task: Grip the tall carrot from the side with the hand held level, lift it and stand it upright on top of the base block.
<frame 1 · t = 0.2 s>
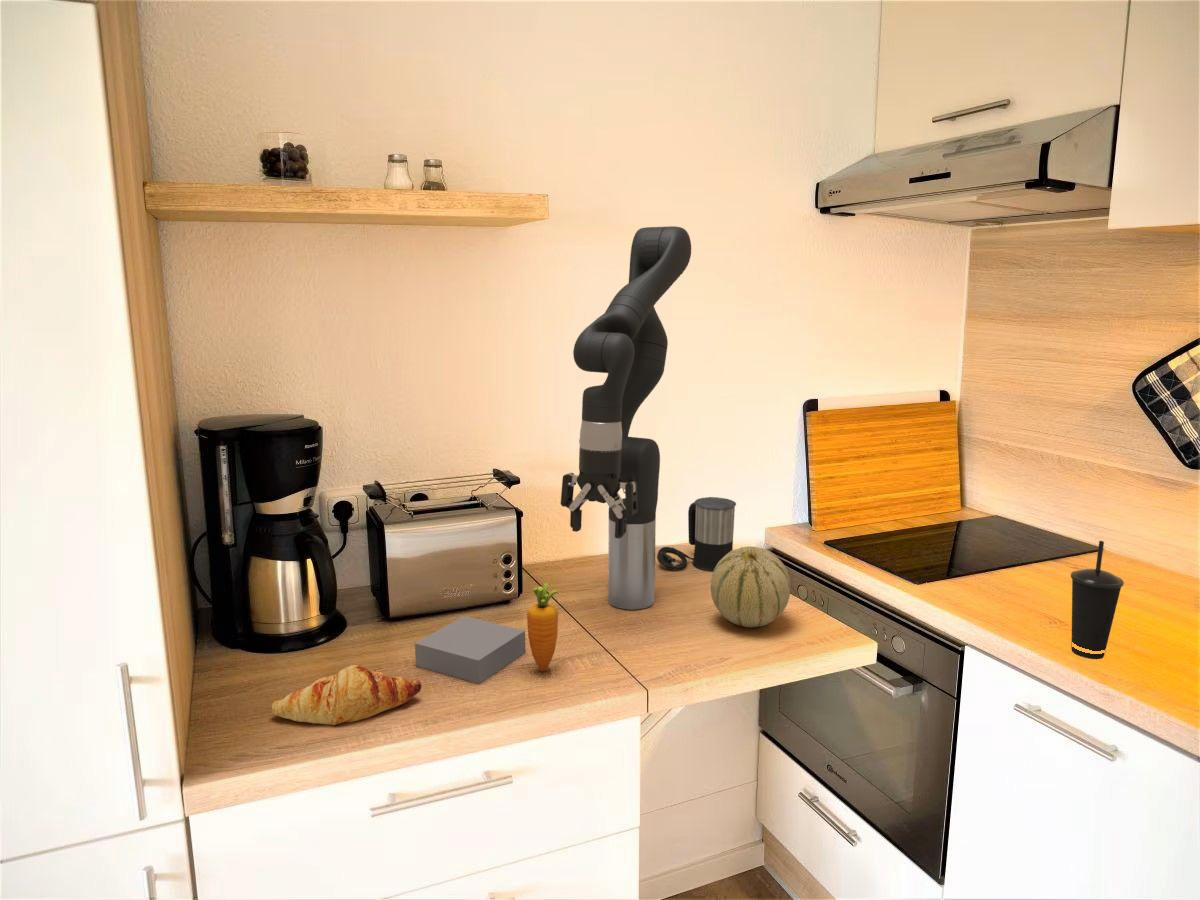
hand: (597, 534, 146), 18 cm above the worktop, tool pointing down, fingers open, 8 cm apart
base block: (471, 659, 136), on the worktop
milk frother: (695, 566, 183), on the worktop
carrot: (543, 672, 132), on the worktop
croissant: (349, 710, 120), on the worktop
cantaloupe: (748, 624, 151), on the worktop
drinking cup: (1087, 654, 139), on the worktop
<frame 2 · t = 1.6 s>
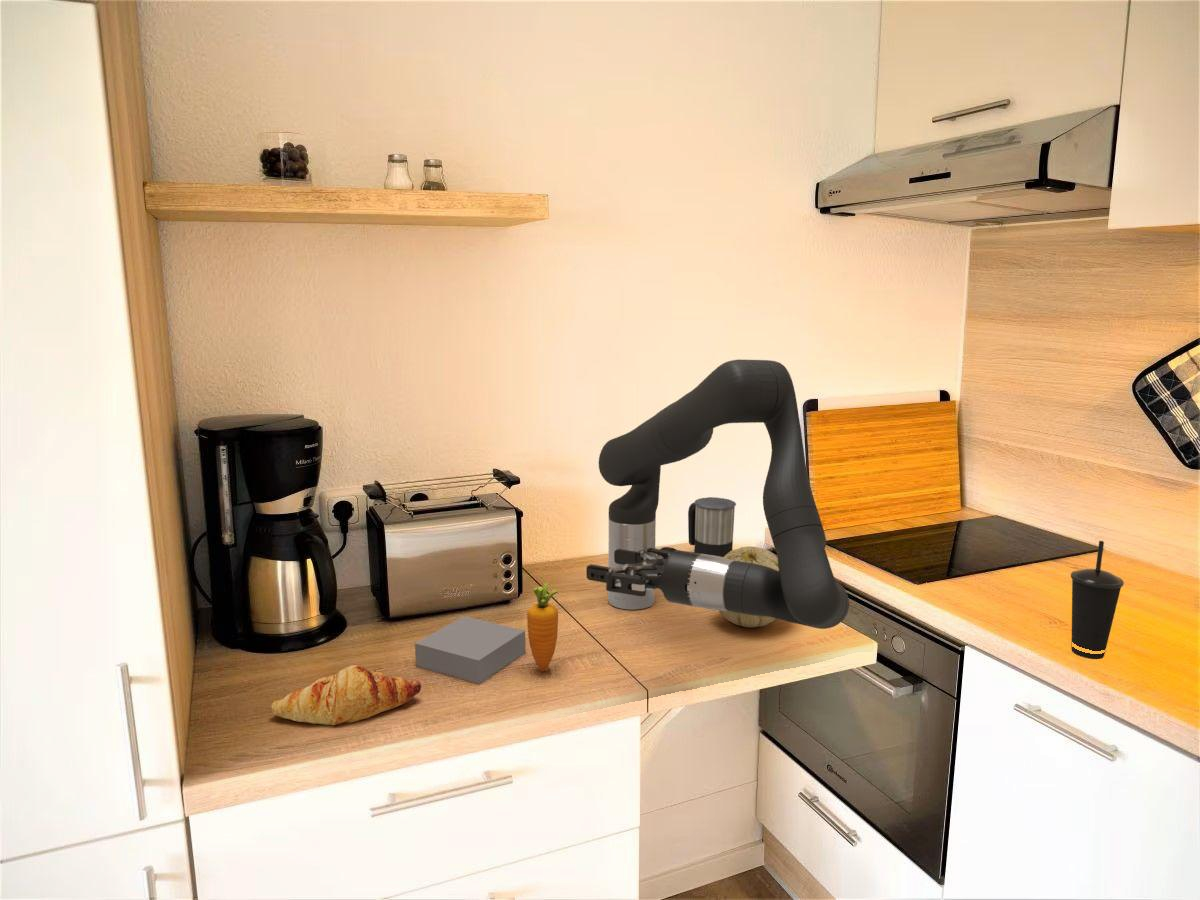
hand: (601, 563, 122), 20 cm above the worktop, tool horizontal, fingers open, 8 cm apart
nothing on the worktop moved.
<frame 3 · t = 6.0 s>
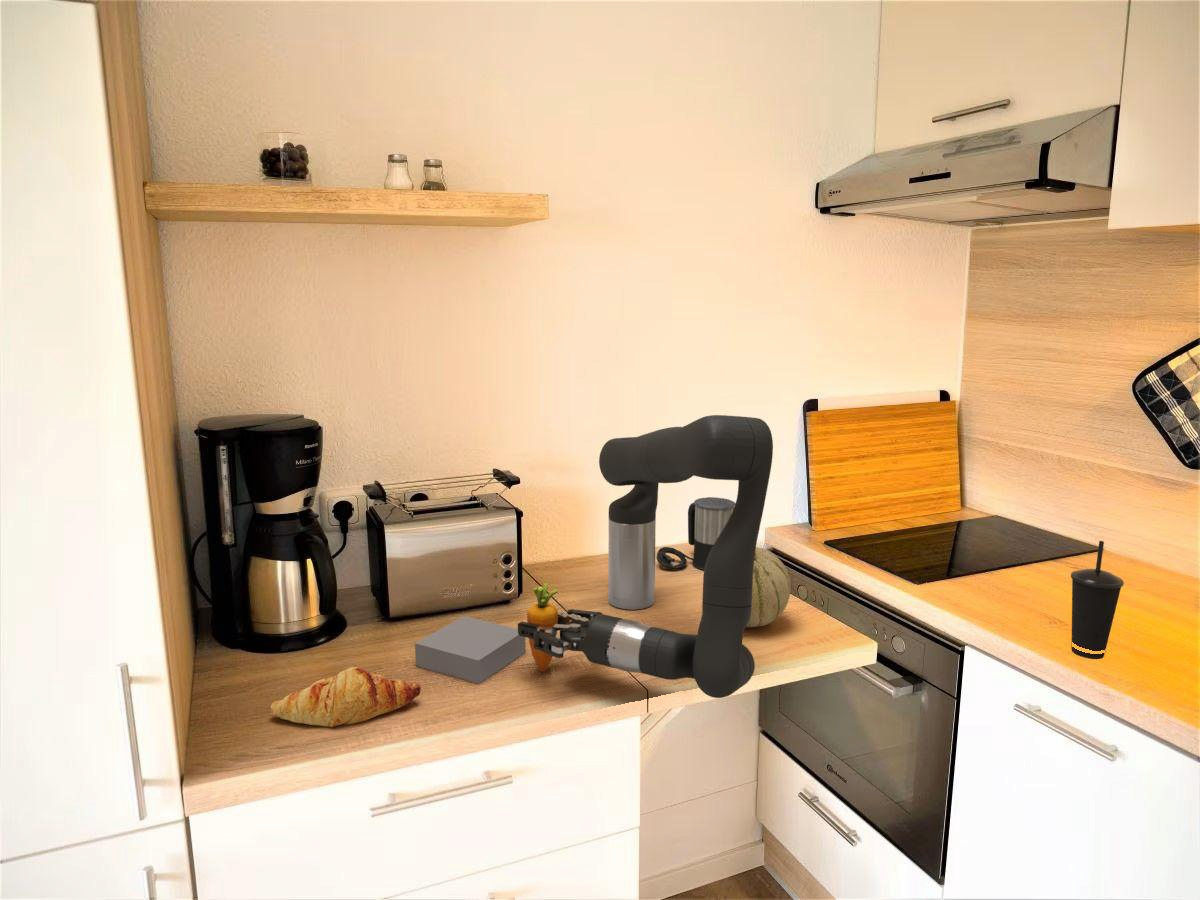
hand: (529, 622, 131), 8 cm above the worktop, tool horizontal, fingers closed on carrot, 5 cm apart
carrot: (543, 672, 132), on the worktop, touching gripper
everything else where it was.
when the fingers open (13 cm above the worktop, at t = 10.2 s): carrot drops 1 cm, resting on base block.
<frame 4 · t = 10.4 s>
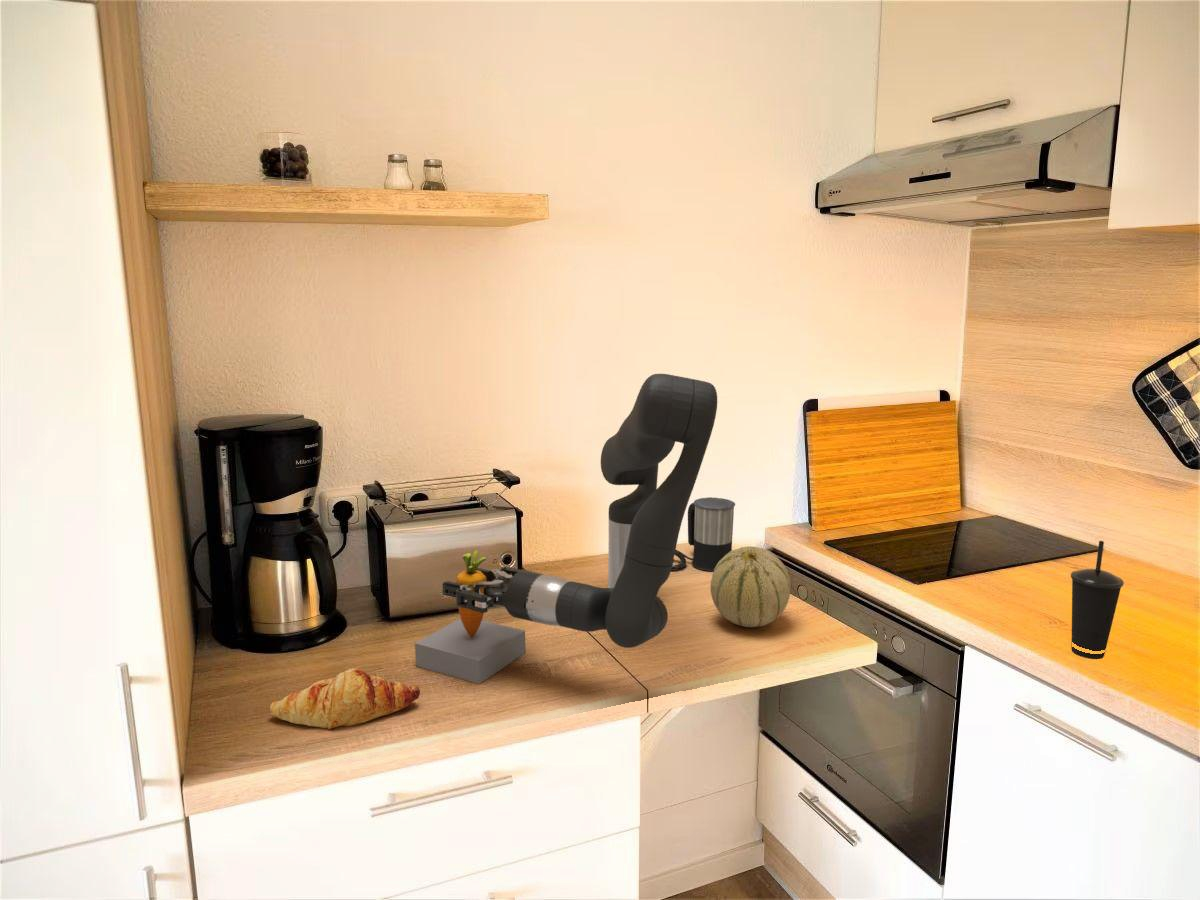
hand: (458, 580, 134), 13 cm above the worktop, tool horizontal, fingers open, 7 cm apart
carrot: (471, 637, 135), point 4 cm above the worktop, touching base block
everything else where it was.
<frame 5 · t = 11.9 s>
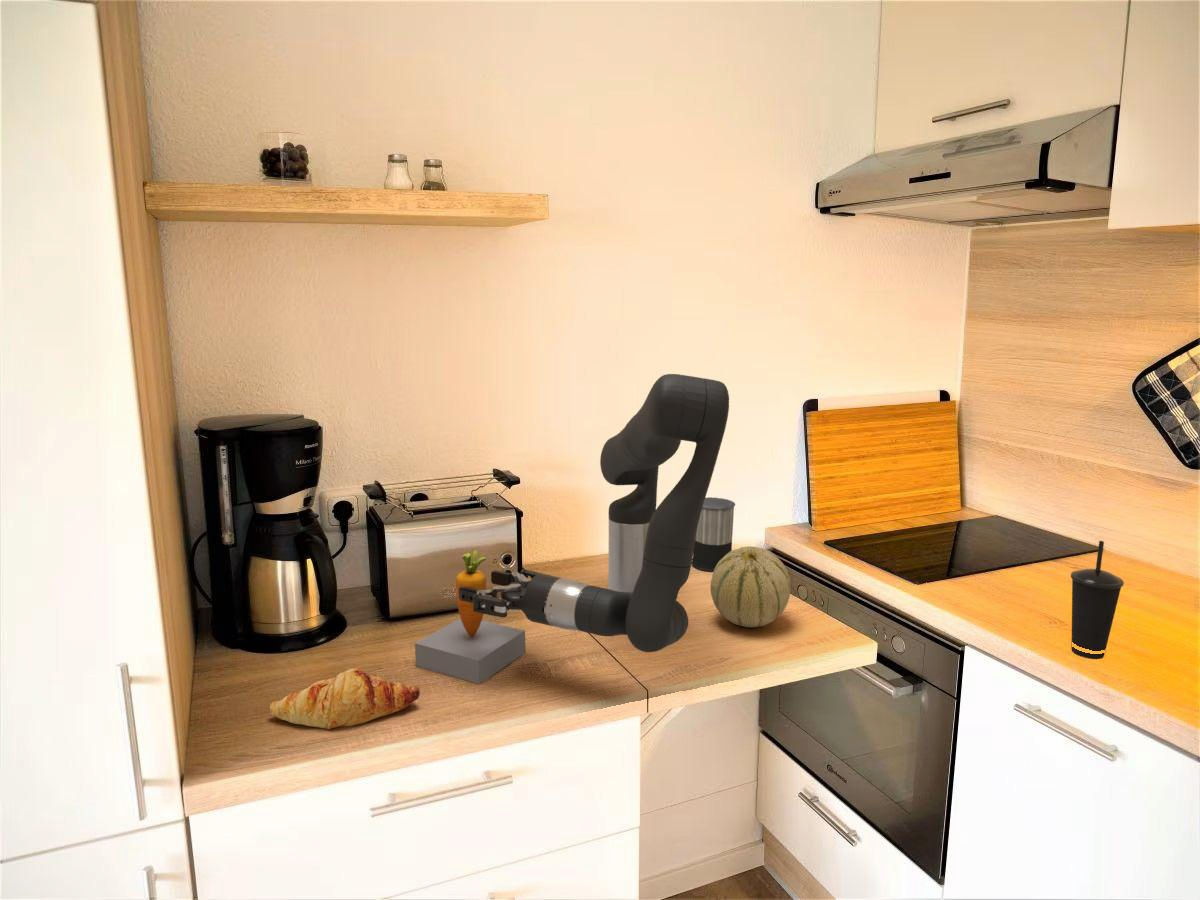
hand: (476, 584, 133), 13 cm above the worktop, tool horizontal, fingers open, 8 cm apart
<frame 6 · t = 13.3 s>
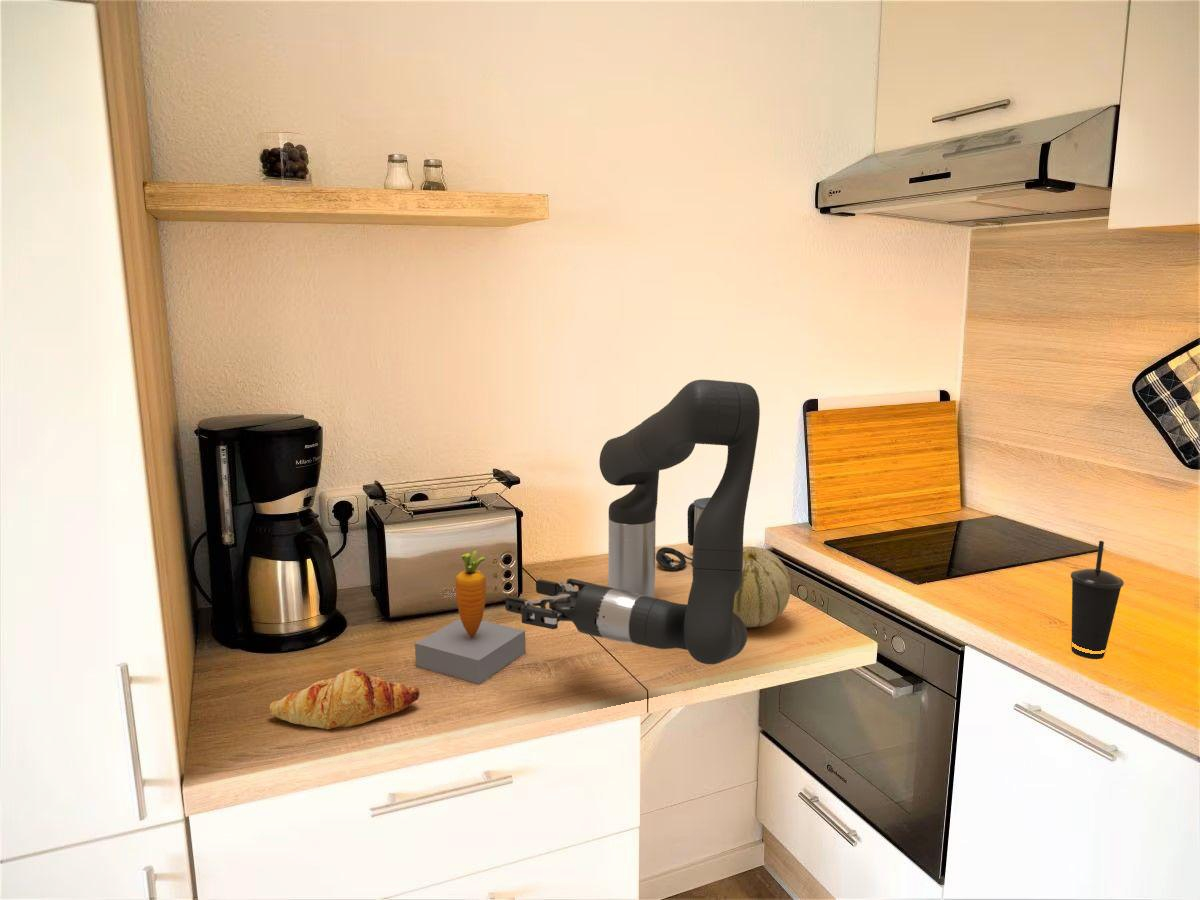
hand: (522, 594, 128), 14 cm above the worktop, tool horizontal, fingers open, 8 cm apart
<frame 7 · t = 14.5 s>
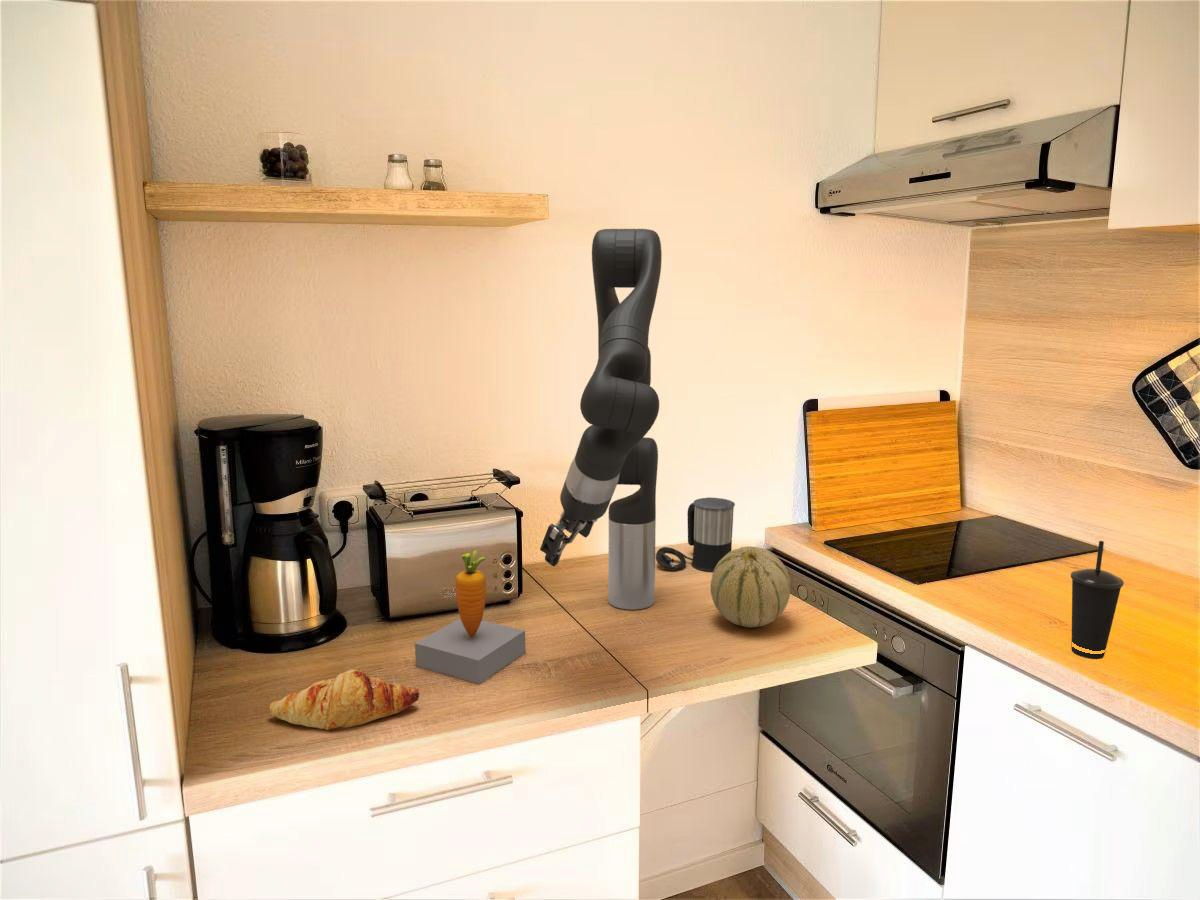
hand: (566, 547, 133), 20 cm above the worktop, tool tilted 35°, fingers open, 8 cm apart
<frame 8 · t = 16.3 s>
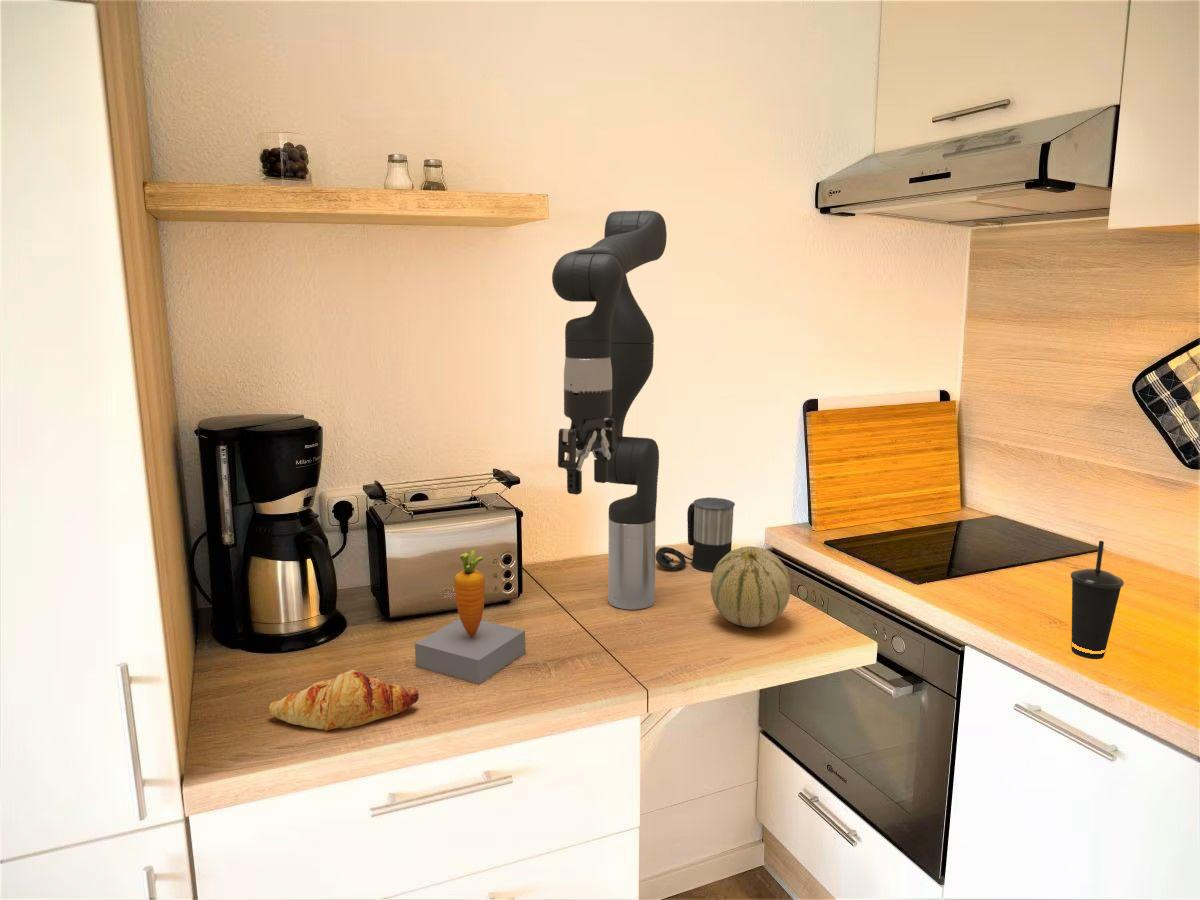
hand: (588, 487, 129), 30 cm above the worktop, tool pointing down, fingers open, 8 cm apart
at the end: carrot inside the target area on the base block (0.1 cm from its centre), point 3.8 cm above the base block's base; carrot tilted 0°; the gripper is holding nothing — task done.
